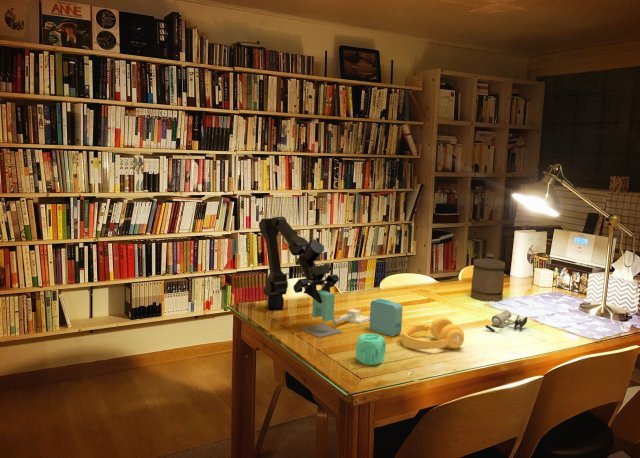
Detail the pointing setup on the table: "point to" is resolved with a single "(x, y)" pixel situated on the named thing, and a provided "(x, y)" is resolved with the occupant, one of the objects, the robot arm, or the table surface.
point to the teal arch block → (324, 306)
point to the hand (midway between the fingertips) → (325, 302)
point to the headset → (434, 335)
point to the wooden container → (488, 279)
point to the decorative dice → (370, 349)
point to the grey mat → (321, 330)
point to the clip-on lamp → (505, 315)
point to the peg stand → (352, 317)
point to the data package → (386, 317)
